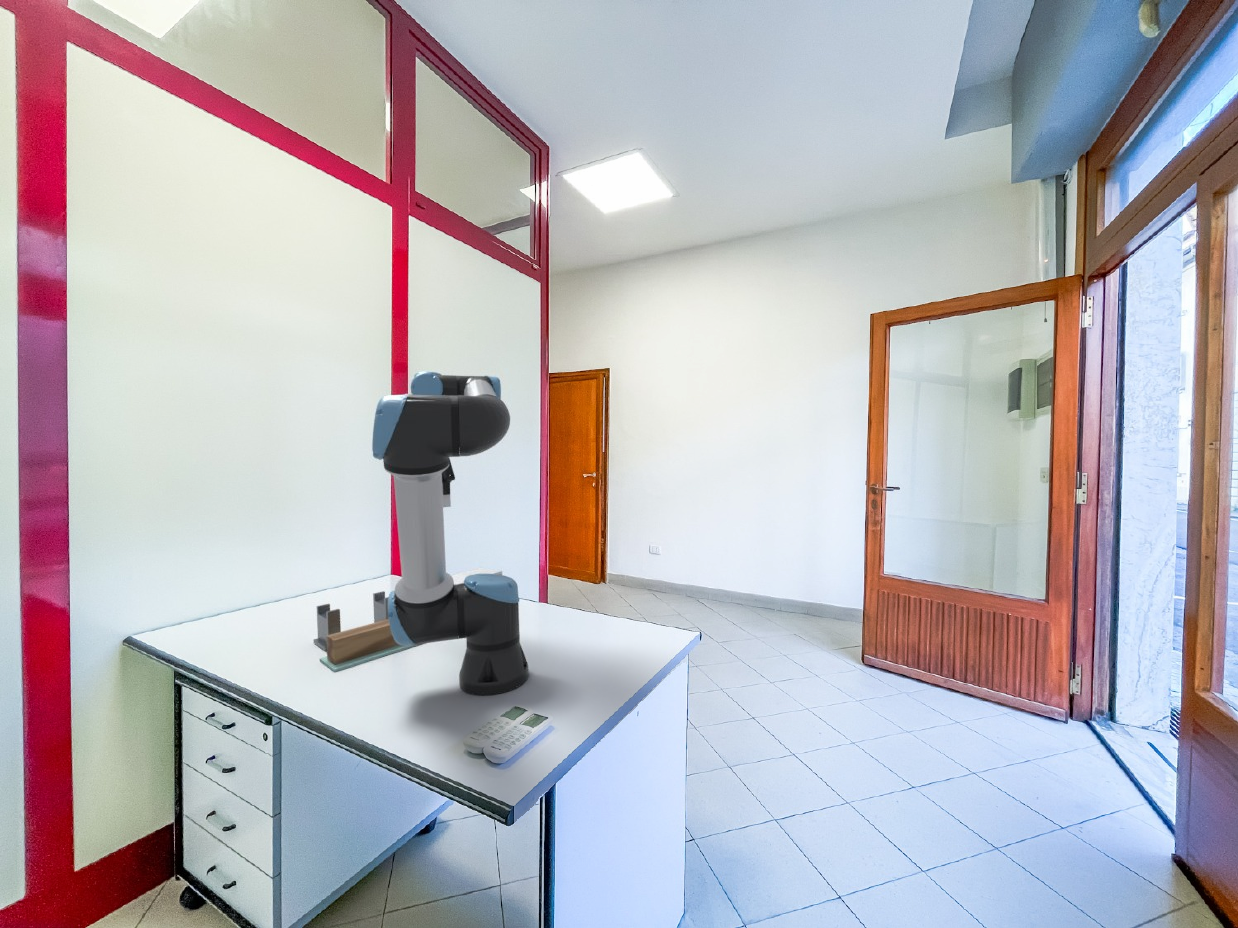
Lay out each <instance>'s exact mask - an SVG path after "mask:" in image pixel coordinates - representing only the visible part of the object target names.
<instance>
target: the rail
mask: <svg viewBox="0 0 1238 928" xmlns="http://www.w3.org/2000/svg"><path fill="white" fill-rule="evenodd" d="M326 637H327V651H326V656H327V660H329V661H330V662H331V663H333V664H334V665H337V664H340V663H343V662H346V661H350V660H353V659H356V658H359V657H362V656H366V655H369V654H372V653H375V652H378V651H382V650H385V649H388V648H391V647H395V646H398V645H399V644H398V643H396V642H395V640H394V638H393V636H392V633H391V629H390V625H389V619H387V620H383V621H380V622H376V623H374V622H373V623H369V624H365V625H362V626H357V627H354V628H350V629H347V630H343V631H341V632H339V633H335V634H331V635H327V636H326Z"/></svg>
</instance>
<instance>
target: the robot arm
mask: <svg viewBox="0 0 1238 928" xmlns="http://www.w3.org/2000/svg"><path fill="white" fill-rule="evenodd" d="M501 385H502V384H501V380H500V378H499V377H497V376H489V375H449V374H447V375H446V374H441V373H439V372H436V371H435V372H434V371H419V372H415V373H414V375H413V379H412V380H411V383H410V393H411V394H409V393H404V394H393V395H392V394H389V395H385V396H382V397H381V398H380V399H379V401H378V403H377V405H376V408H375V414H374V421H373V429H372V440H371V441H372V444H371V445H372V447H371V449H372V450H371V451H372V456H373V458H374V459H376V460H379V461H380V460H382V461H383V462H382V463H383V468H384V471H386V472H387V473H388V474H390V475H392V476H393V482H394V483H393V484H394V495H395V509H396V520H397V533H398V547H399V557H400V558H399V561H400V570H401V571H400V572H401V578H400V579H399V580H398V581H397V583H396V584H395V587H394V590H392V591H391V592H390V593H389V595H388V614H389V625H390V629H391V633H392V636H393V638H394V640H395V642H396V643H398V644H399V645H403V646H405V645H417V646H421V645H423V644H429V643H430V644H431V643H437V642H446V641H451V640H452V641H453V640H459V639H461V640H462V639H466V641H465V642H466V649H465V653H464V656H463V660H462V663H461V667H460V670H459V675H458V680H459V683H458V685H459V687H460V689H461V690H462V691H464V692H465V693H468V694H472V695H478V696H490V695H491V696H492V695H498V694H503V693H506V692H510V691H512V690H515V689H517V688H519V687H520V686H522V685H523V684H525V682H526V681H527V680H528V679H529V664H528V661H527V658H526V655H525V653H524V650H523V648H522V644H521V641H520V639H521V638H520V636H521V635H520V634H521V633H520V613H519V612H520V611H519V610H520V608H519V607H520V606H519V603H520V597H519V588H518V587H519V586H518V584H517V582H516V580H515V579H513V578H512V577H511V576H507V575H503V574H502V575H499V574H475V575H469V576H467V577H466V578H465V580H464V584H455V585H454V580H453V578H452V575H451V574H450V573H448V572H447V568H446V567H447V566H446V546H445V544H446V543H445V542H446V541H445V523H444V521H445V520H444V518H445V517H444V508H451V507H452V505H451V504H452V502H451V500H452V499H451V483H452V481H455V480H456V476H455V473H454V470H453V465H452V461H451V459H450V458H458V457H471V456H475V455H478V454H481V453H484V452H486V451H488V450H490V449H491V448H493V447H495V446H496V445H497V444H498V443H499V442H500V441H502V440H503V438H505V436H506V434H507V433H508V432H509V431H508V430H509V429H510V426H511V425H510V424H511V415H510V414H511V413H510V411H509V408H508V406H507V405H506V404H505V402H504V401H503V400H502V386H501Z"/></svg>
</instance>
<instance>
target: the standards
mask: <svg viewBox="0 0 1238 928" xmlns="http://www.w3.org/2000/svg"><path fill="white" fill-rule="evenodd" d="M372 597H373V599H372V602H373V623H376V622H380V621H383V620H387V619H389V614H388V597H389V596H388V597H386V592H385V591H379V592H375V593H372ZM316 623H317V624H316V625H317V638H314V639H313V640H312V641H313V644H314V643H315V644H314V645H316V646H317V647H318V648H320V650H323V651H324V652H327V637H326V636H327V635H331V634H335V633H339V632H342V631H341V629H342V628H341V609H339V608H336V609H332V610H331V604H330V603H325V604H321V605H317V606H316Z"/></svg>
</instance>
